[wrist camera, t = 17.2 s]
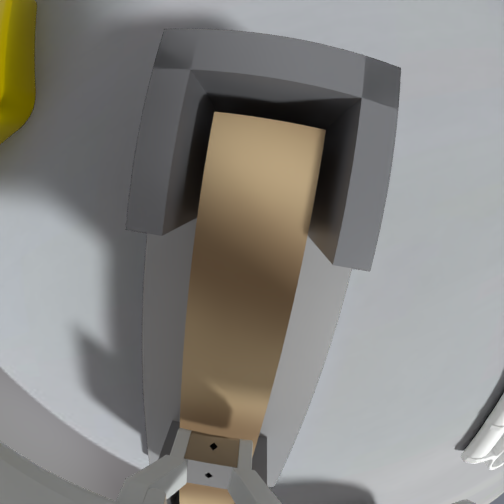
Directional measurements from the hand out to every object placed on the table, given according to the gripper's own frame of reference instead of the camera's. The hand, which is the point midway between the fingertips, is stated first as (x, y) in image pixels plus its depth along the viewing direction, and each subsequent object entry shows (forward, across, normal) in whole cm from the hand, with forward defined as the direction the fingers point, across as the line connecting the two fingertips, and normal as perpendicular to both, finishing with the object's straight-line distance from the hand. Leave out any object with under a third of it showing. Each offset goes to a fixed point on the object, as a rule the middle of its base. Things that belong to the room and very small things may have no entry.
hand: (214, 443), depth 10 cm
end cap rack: (+9, 0, 0) cm, 9 cm away
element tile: (+10, +27, -17) cm, 34 cm away
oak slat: (+6, 0, 0) cm, 6 cm away
